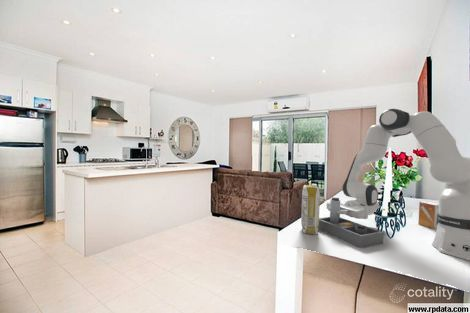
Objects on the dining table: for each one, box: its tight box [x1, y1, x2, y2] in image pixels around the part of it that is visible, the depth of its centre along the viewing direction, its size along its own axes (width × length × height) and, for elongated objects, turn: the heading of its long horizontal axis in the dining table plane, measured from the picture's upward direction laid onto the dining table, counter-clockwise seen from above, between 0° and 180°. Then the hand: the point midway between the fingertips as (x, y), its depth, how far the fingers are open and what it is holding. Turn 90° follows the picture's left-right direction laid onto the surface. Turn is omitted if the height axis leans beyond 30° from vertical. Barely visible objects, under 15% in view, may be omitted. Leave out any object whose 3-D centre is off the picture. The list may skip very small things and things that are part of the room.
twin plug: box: [355, 224, 367, 235], centre depth 102 cm, size 5×5×5 cm
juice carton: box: [300, 183, 321, 235], centre depth 112 cm, size 9×8×24 cm
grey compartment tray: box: [318, 216, 384, 249], centre depth 109 cm, size 26×14×6 cm, turn 23°
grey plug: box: [329, 197, 341, 224], centre depth 116 cm, size 5×5×13 cm
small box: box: [418, 200, 439, 230], centre depth 126 cm, size 8×6×13 cm
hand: (333, 210), depth 115 cm, fingers closed on grey plug, 5 cm apart
